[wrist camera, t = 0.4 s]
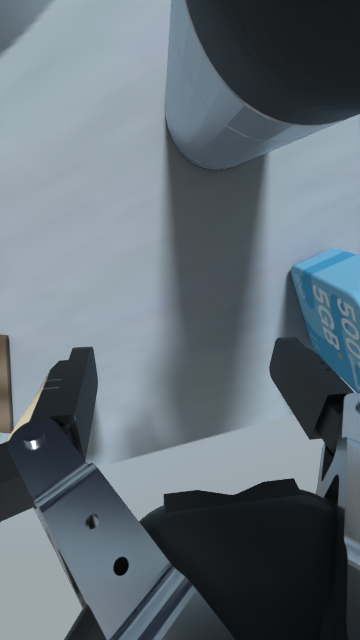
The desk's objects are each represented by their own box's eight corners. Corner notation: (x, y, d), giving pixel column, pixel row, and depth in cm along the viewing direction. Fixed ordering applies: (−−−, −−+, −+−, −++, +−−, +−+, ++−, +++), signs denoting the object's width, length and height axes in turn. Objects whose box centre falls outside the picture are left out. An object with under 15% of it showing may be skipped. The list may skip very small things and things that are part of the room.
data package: (287, 262, 30) (361, 300, 19) (327, 244, 29) (429, 272, 18) (312, 349, 34) (383, 420, 23) (347, 335, 34) (437, 401, 23)
